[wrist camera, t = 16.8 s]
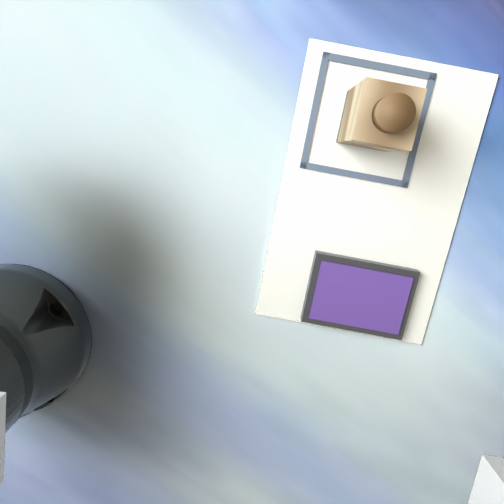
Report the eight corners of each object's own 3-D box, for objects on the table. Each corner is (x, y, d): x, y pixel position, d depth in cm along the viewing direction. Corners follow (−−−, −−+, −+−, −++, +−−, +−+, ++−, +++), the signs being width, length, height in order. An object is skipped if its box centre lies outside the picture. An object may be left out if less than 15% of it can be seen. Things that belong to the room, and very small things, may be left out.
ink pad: (300, 317, 45) (301, 323, 44) (315, 250, 44) (316, 253, 42) (398, 335, 45) (402, 341, 44) (416, 269, 44) (421, 273, 42)
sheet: (255, 312, 46) (255, 314, 45) (309, 39, 40) (309, 37, 40) (420, 343, 46) (422, 345, 45) (497, 75, 40) (500, 74, 40)
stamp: (335, 142, 42) (357, 139, 32) (347, 91, 41) (372, 72, 31) (383, 151, 42) (420, 151, 32) (396, 100, 41) (437, 84, 31)
